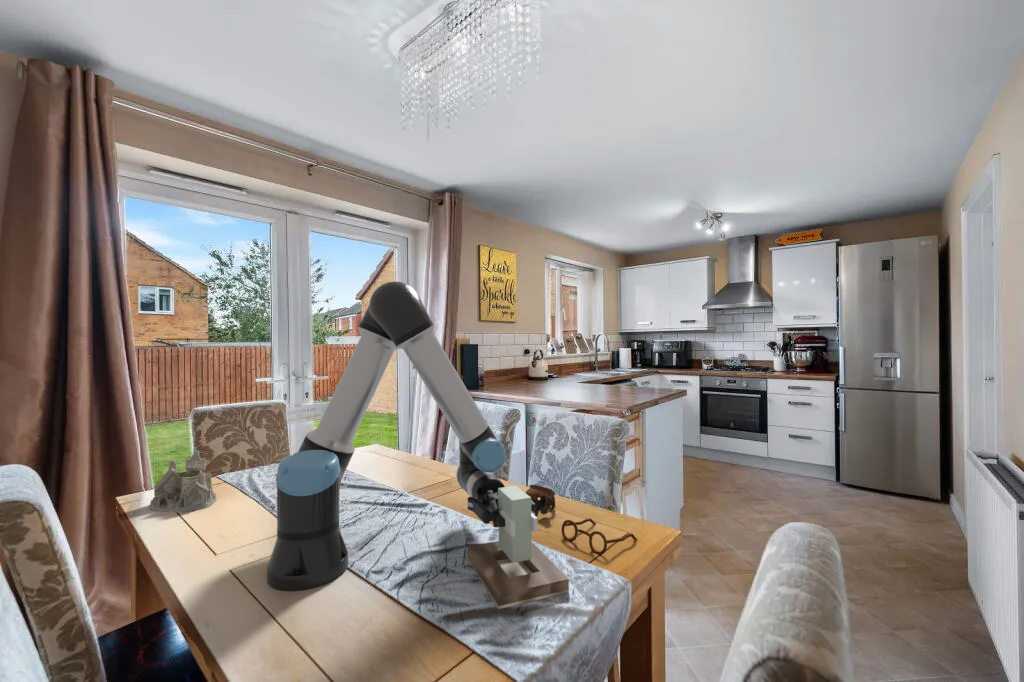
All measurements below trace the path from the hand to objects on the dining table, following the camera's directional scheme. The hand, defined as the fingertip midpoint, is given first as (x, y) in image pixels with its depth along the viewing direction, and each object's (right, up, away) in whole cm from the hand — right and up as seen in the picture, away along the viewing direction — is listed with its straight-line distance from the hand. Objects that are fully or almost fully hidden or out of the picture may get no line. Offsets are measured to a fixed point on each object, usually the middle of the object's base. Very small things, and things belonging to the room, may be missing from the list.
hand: (524, 527), depth 85 cm
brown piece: (+5, -12, +38) cm, 40 cm away
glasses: (+18, -12, +21) cm, 31 cm away
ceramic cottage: (-99, -13, +45) cm, 109 cm away
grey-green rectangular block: (-2, -7, +5) cm, 9 cm away
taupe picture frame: (-2, -11, +5) cm, 13 cm away
